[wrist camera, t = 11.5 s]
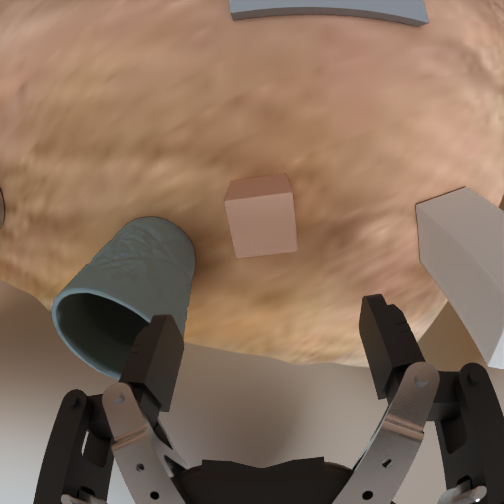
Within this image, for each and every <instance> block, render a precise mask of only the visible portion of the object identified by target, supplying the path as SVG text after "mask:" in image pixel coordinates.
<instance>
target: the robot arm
mask: <svg viewBox="0 0 504 504" xmlns="http://www.w3.org/2000/svg"><path fill="white" fill-rule="evenodd" d="M3 221H4V204H3V198H2V195H1V191H0V227H1V226H2V224H3ZM359 331H360V336H361V340H362V343H363V346H364V349H365V353H366V356H367V359H368V363H369V366H370V370H371V373H372V377H373V380H374V384H375V388H376V392H377V396H378V399H379V400H380V399H384V398H387V401H388V407H387V409H386V411H385V413H384V415H383V417H382V419H381V421H380V423H379V425H378V426H377V428H376V430H375V432H374V434H373V435H372V437H371V439H370V441H369V443H368V444H367V446H366V447H365V449H364V450H363V452H362V454H361V455H360V457H359V458H358V460H357V462H356V463H355V465H354V466H353V468H352V469H350V468H348V467H345V466H343V465H340V464H337V463H331V462H324V457H317V458H309V459H300V460H292V461H288V462H285V463H281V464H278V465H274V466H270V467H266V468H256V467H252V466H247V465H243V464H239V463H235V462H232V461H215V460H202V465H200V466H196V467H192V468H190V467H189V465H188V464H187V463H186V461H185V460H184V459H183V458H182V457H181V456H180V454H179V453H178V452H177V450H176V449H175V447H174V445H173V443H172V442H171V440H170V438H169V436H168V434H167V433H166V431H165V429H164V427H163V425H162V423H161V421H160V420H159V418H158V415H159V411H162V412H169V409H170V404H171V400H172V396H173V391H174V387H175V383H176V379H177V375H178V371H179V367H180V363H181V359H182V355H183V350H184V340H183V337H182V335H181V333H180V331H179V329H178V326H177V324H176V322H175V320H174V318H173V316H172V315H171V314H162V315H154V316H153V317H152V319H151V322H150V324H149V327H144V328H143V329H142V330H141V331H140V333H139V334H138V335H137V337H136V339H135V342H134V344H133V345H134V346H133V347H132V349H131V351H130V352H131V353H130V354H129V356H128V359H127V361H126V364H125V366H124V369H123V372H122V374H121V377H120V379H119V382H118V383H114V384H112V385H110V386H109V387H108V388H107V389H106V390H105V391H104V393H103V394H99V395H92V396H87V395H86V394H85V393H84V392H83V391H81V390H78V389H75V390H72V391H70V392H68V393H67V394H66V395H65V397H64V398H63V401H62V403H61V406H60V409H59V412H58V414H57V417H56V420H55V423H54V426H53V429H52V432H51V435H50V438H49V442H48V445H47V448H46V452H45V455H44V459H43V463H42V466H41V471H40V475H39V479H38V484H37V488H36V493H35V498H34V503H33V504H107V502H106V501H107V495H108V489H109V483H110V477H111V471H112V465H113V461H114V457H115V459H116V462H117V464H118V467H119V469H120V472H121V474H122V476H123V478H124V481H125V483H126V485H127V487H128V489H129V491H130V493H131V495H132V497H133V499H134V501H135V503H136V504H395V503H394V502H393V501H392V499H393V498H394V496H395V494H396V492H397V491H398V489H399V487H400V486H401V484H402V482H403V480H404V478H405V476H406V474H407V473H408V471H409V469H410V467H411V465H412V463H413V460H414V458H415V456H416V454H417V452H418V450H419V447H420V445H421V443H422V440H423V437H424V432H423V428H424V426H425V423H426V421H434V422H435V426H436V430H437V435H438V440H439V444H440V450H441V455H442V461H443V466H444V473H445V480H446V488H447V491H445V492H444V493H443V494H442V496H441V497H440V498H439V500H438V503H437V504H504V416H503V413H502V411H501V407H500V404H499V402H498V399H497V396H496V393H495V391H494V388H493V385H492V383H491V381H490V378H489V376H488V373H487V371H486V370H485V368H484V367H483V366H481V365H480V364H477V363H468V364H466V365H464V366H463V367H462V369H461V370H460V372H443V371H438V370H437V369H436V368H435V367H434V366H433V365H431V364H429V363H427V362H426V361H425V359H424V357H423V355H422V353H421V351H420V348H419V346H418V344H417V342H416V339H415V337H414V335H413V333H412V331H411V329H410V327H409V324H408V323H407V320H406V318H405V316H404V314H403V312H402V311H401V310H400V309H399V308H398V307H396V306H395V305H394V304H391V305H387V304H386V302H385V300H384V298H383V296H382V294H375V295H369V296H364V297H363V299H362V306H361V313H360V320H359ZM86 431H88V432H89V434H88V437H87V441H86V445H85V449H84V453H83V455H82V446H83V442H84V438H85V435H86Z"/></svg>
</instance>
